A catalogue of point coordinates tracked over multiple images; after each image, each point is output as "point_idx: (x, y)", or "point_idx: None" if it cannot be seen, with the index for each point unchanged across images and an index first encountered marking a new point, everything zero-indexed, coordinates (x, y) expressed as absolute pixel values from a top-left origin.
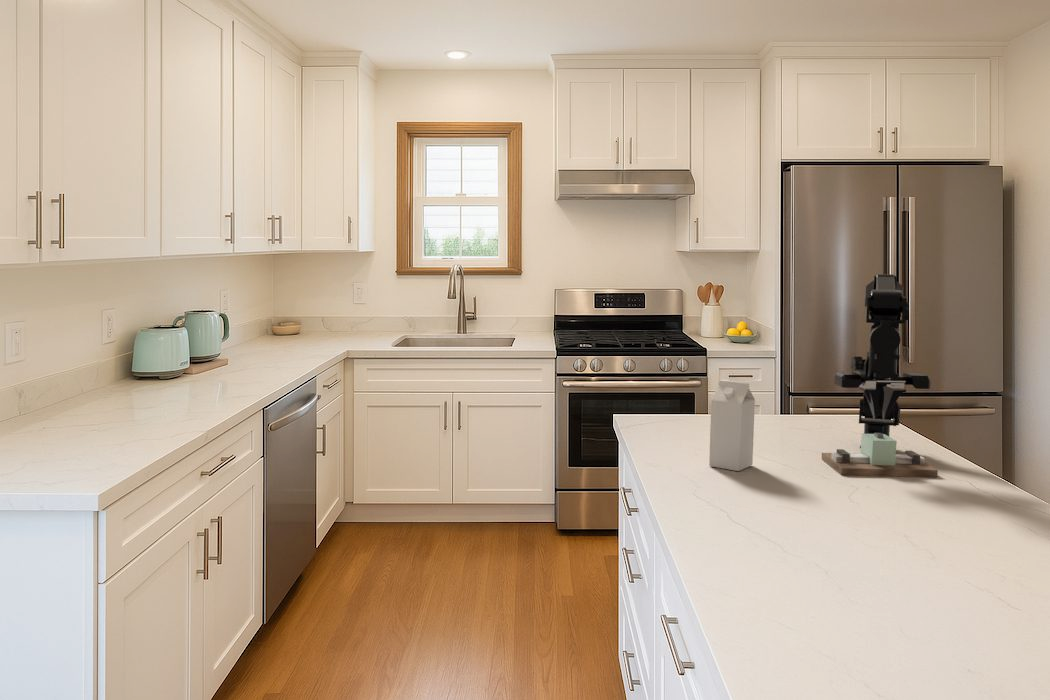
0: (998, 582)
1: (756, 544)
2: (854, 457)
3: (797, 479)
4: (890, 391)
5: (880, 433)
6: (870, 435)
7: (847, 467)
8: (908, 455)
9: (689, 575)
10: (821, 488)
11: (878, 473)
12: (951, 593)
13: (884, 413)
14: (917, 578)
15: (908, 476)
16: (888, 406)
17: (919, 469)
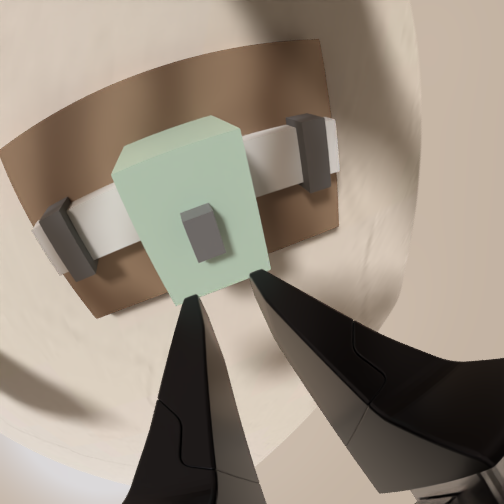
0: (262, 447)
1: (121, 467)
2: (109, 252)
3: (44, 361)
4: (381, 477)
5: (213, 228)
6: (159, 203)
7: (106, 305)
8: (300, 151)
9: (114, 481)
10: (99, 386)
11: None
12: None
13: (271, 326)
14: None
15: None
16: (311, 390)
17: (297, 238)
